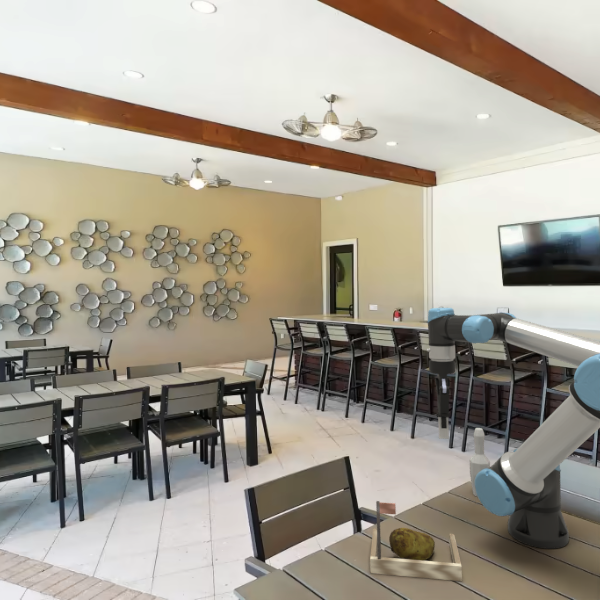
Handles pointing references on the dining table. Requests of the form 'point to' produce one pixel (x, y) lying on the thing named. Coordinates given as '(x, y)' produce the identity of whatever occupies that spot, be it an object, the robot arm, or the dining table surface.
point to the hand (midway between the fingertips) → (443, 437)
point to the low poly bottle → (478, 457)
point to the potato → (411, 544)
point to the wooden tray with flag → (406, 565)
